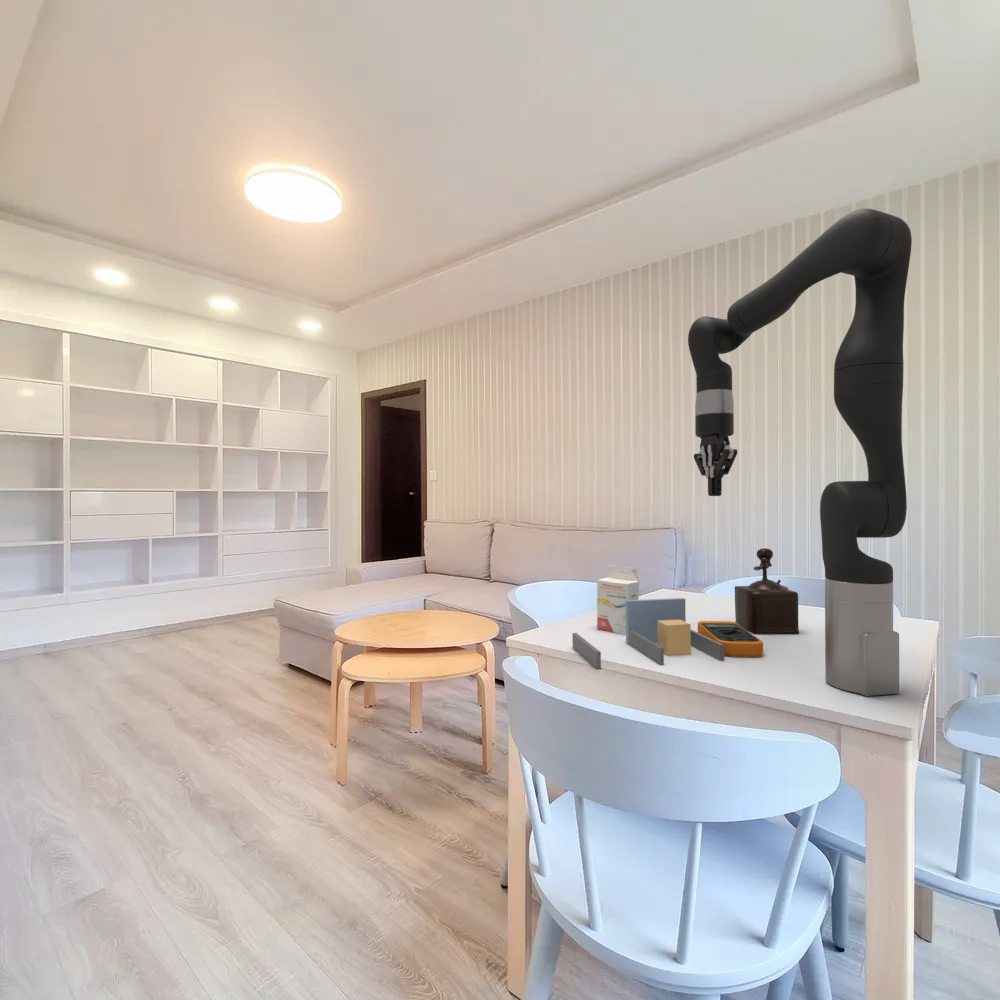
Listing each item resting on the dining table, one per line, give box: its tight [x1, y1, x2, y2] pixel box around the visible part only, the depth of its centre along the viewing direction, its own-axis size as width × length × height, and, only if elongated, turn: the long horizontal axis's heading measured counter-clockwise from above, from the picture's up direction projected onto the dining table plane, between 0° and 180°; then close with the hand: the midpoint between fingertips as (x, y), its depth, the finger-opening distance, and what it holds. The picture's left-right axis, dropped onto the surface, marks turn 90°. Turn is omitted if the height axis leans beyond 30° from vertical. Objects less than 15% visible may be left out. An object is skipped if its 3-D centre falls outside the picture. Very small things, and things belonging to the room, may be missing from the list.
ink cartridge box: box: [596, 564, 640, 636], centre depth 125 cm, size 9×5×15 cm, turn 47°
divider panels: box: [572, 597, 725, 670], centre depth 107 cm, size 15×25×9 cm, turn 100°
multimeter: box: [697, 620, 764, 658], centre depth 112 cm, size 9×18×3 cm, turn 174°
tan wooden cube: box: [656, 620, 692, 657], centre depth 107 cm, size 4×5×6 cm
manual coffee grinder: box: [734, 547, 800, 635], centre depth 128 cm, size 16×11×18 cm
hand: (714, 495), depth 113 cm, fingers closed
